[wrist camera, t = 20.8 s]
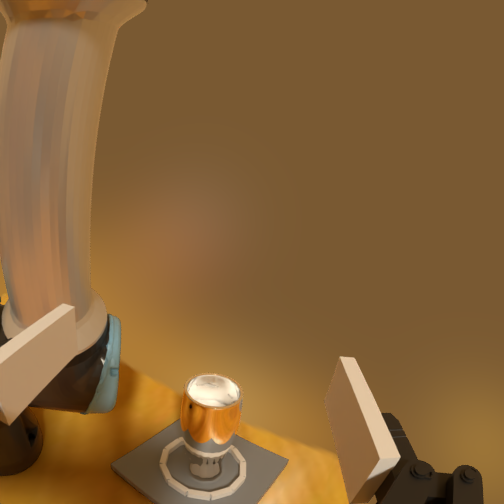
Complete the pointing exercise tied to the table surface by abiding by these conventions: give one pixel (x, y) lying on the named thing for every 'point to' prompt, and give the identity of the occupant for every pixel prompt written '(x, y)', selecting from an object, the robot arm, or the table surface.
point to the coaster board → (187, 491)
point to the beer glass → (209, 424)
